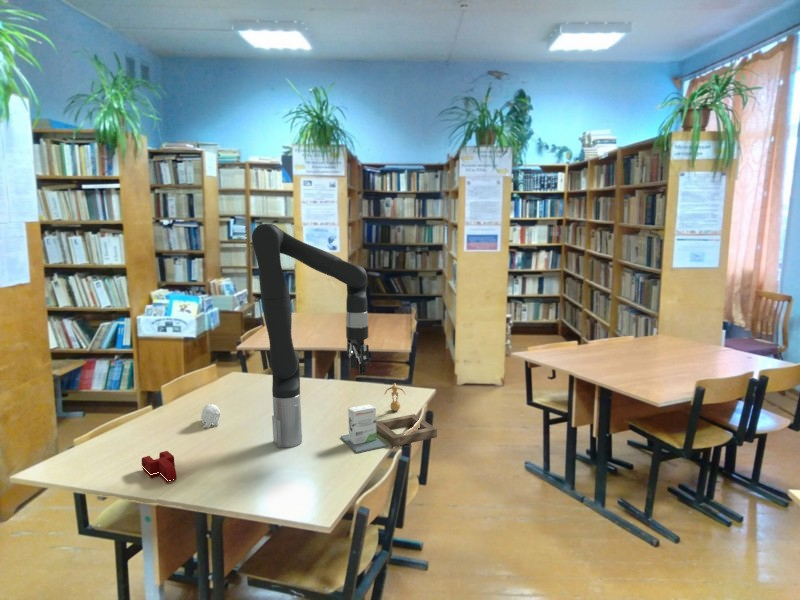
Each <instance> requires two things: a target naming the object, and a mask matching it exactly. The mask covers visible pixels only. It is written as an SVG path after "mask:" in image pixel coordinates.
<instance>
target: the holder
mask: <svg viewBox="0 0 800 600" xmlns="http://www.w3.org/2000/svg"><path fill="white" fill-rule="evenodd" d="M419 418H420V417H419V416H418V415H417V414H415V413H413V414H407V415H403V416H397V417H392V418H388V419H383V420H376V434H378V435H379V436H380V437H381V438H382V439H384V440H385V441H386V442H387V443H389V444H390V445H391V446H392V447H397V446H404V445H407V444H412V443H418V442H420V441H421V442H422V441H426V440H431V439H435V438H438V429H437V427H435V426H434V425H432V424H431V423H428V422H427V421H426V420H424V419H422V421H421V423H420V428H418V429H416V430H412V431H413V432H411V433H410V434H408V435H404V434H405V433H406V432H401V433H397V432H395V431H393V430H394V429H399V428H404V427H409V426H412V427H414V426H413V425H414V424H415V423H416V422H417V421H418V420H419Z"/></svg>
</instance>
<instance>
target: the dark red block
mask: <svg viewBox="0 0 800 600" xmlns="http://www.w3.org/2000/svg"><path fill="white" fill-rule="evenodd" d="M158 455H159V456H158V458H155V459H154V458H153V457H152V456H150V455H147V456H146V455H145V456H143V457H141V467H142V466H143V467H144V468H145V469H146V470H147V471H148V472H149V473H150V474H153V473H157V472H159V473H157V474H153V475H150V474H149V473H148V472H147V471H146V470H145V469H144V468H143V467H142V471H143V472H144V473H145V475H147V476H148V477H149V479H155V478H158V477H160V478H161V479H162V480H163V481H164V482H165V483H166V484H169V483H173V482H175V481H176V480H177V476H178V475H177V470H176V465H175V456H174V455H173V454H172V453H171V452H169V451H168V450H165V451H161V452H159V454H158ZM160 473H161V474H162V475H163V476H164V477H165V478H166V479H167V480H168V481H167V480H166V479H165V478H164V477H163V476H162V475H161V474H160ZM173 479H174V480H173ZM169 480H171V481H169Z"/></svg>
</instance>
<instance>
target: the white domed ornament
mask: <svg viewBox="0 0 800 600" xmlns="http://www.w3.org/2000/svg"><path fill="white" fill-rule="evenodd" d="M220 418H221V411H220V408H219V407H218V406H217V405H215V404H212V403H210V404H206V405H205V406H204V407H203V408H202V410H201V414H200V419H201V421H202V425H203V424H204V425H203V426H202V427H203V429H207V428H209V427H210V426H211V425H213V426H216V427H217V426H219V425H220V422H219V421H220Z"/></svg>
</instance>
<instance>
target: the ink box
mask: <svg viewBox="0 0 800 600" xmlns="http://www.w3.org/2000/svg"><path fill="white" fill-rule="evenodd" d="M347 411H348V414H347V416H348V434H349V440H350V441H351V442H352V443H353V444H354V445H355V444H360V443H365V442H369V441H374V440H376V436H377V432H376V421H377V408H376V407H375V406H374V405H372V404H365V405H357V406H353V407H347Z"/></svg>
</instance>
